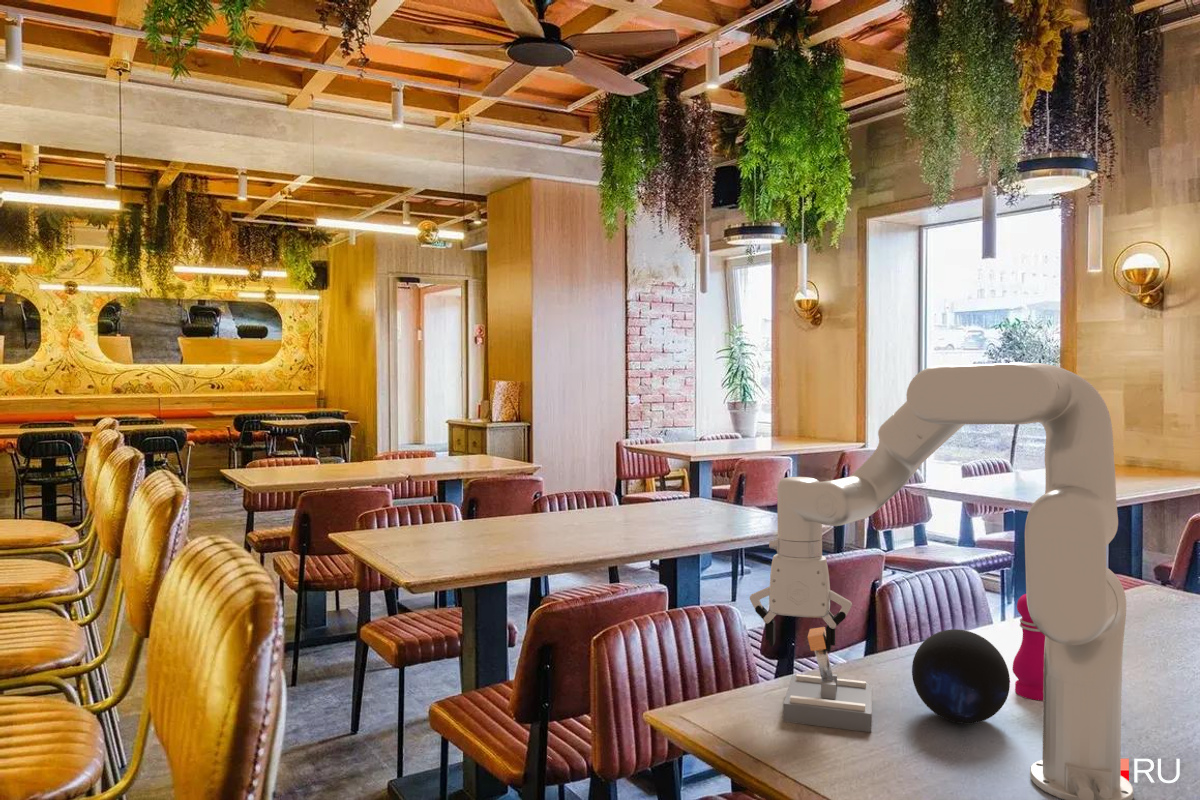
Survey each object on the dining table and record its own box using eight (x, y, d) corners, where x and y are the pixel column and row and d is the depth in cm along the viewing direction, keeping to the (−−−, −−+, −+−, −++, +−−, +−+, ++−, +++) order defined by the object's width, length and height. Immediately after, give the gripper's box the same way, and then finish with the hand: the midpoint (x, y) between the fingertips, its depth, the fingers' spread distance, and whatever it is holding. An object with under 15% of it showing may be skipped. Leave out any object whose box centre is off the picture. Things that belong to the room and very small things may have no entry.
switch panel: (871, 732, 137) (871, 698, 137) (783, 721, 141) (783, 688, 141) (872, 701, 150) (872, 670, 150) (791, 692, 154) (791, 661, 154)
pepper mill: (1062, 703, 149) (1064, 590, 149) (1018, 700, 151) (1019, 588, 150) (1049, 688, 156) (1050, 581, 156) (1007, 686, 158) (1008, 579, 158)
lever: (837, 695, 143) (822, 634, 143) (822, 697, 144) (807, 637, 144) (838, 685, 147) (824, 626, 148) (823, 687, 148) (809, 629, 149)
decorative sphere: (1015, 715, 144) (1016, 627, 144) (1002, 746, 131) (1003, 651, 131) (922, 697, 152) (923, 614, 152) (901, 725, 140) (902, 634, 139)
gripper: (746, 549, 146) (746, 648, 146) (850, 555, 141) (851, 658, 141) (752, 542, 153) (753, 636, 153) (852, 547, 148) (852, 645, 148)
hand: (800, 646), depth 147 cm, fingers open, 9 cm apart
